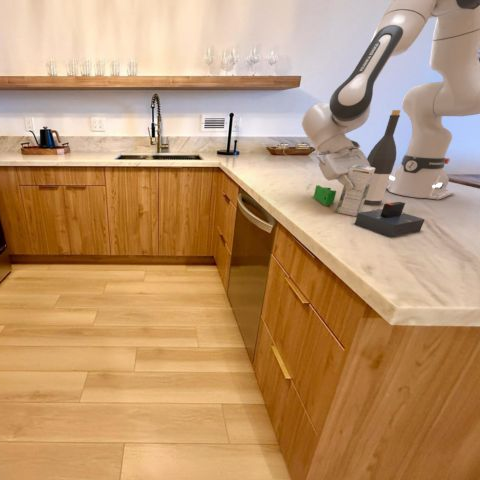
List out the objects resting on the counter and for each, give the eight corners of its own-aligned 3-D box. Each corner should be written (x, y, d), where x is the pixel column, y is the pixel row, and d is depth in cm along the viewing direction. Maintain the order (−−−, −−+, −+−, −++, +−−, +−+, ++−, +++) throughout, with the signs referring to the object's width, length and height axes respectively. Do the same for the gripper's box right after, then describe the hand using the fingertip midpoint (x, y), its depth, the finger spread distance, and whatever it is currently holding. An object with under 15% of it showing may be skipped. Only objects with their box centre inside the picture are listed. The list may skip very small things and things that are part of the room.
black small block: (394, 213, 80) (399, 200, 79) (400, 215, 79) (405, 202, 77) (380, 216, 78) (384, 202, 77) (386, 217, 77) (390, 204, 75)
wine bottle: (384, 206, 98) (417, 110, 85) (356, 203, 100) (385, 110, 88) (377, 200, 104) (407, 110, 92) (352, 197, 107) (377, 110, 95)
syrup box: (341, 208, 95) (353, 164, 89) (361, 212, 92) (376, 166, 86) (335, 212, 92) (348, 166, 86) (357, 217, 88) (371, 169, 82)
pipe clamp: (336, 206, 98) (340, 193, 96) (325, 206, 98) (328, 193, 96) (323, 197, 108) (326, 185, 106) (313, 196, 108) (316, 184, 106)
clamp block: (382, 219, 86) (386, 207, 85) (420, 231, 78) (425, 218, 76) (354, 224, 82) (357, 212, 81) (390, 237, 74) (395, 224, 72)
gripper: (324, 145, 84) (349, 185, 80) (361, 142, 93) (385, 177, 90) (307, 159, 89) (329, 197, 86) (343, 154, 99) (365, 188, 95)
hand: (358, 187), depth 88 cm, fingers closed on syrup box, 6 cm apart
